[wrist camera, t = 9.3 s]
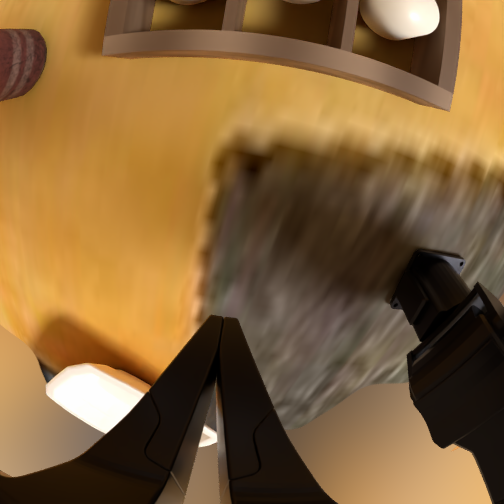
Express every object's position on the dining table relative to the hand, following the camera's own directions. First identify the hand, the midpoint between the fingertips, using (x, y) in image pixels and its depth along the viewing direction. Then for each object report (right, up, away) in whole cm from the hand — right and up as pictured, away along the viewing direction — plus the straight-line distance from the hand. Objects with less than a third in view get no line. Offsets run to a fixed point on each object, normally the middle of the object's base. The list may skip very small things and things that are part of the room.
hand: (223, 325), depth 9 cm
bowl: (-17, -18, +28) cm, 37 cm away
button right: (+9, +17, +3) cm, 19 cm away
